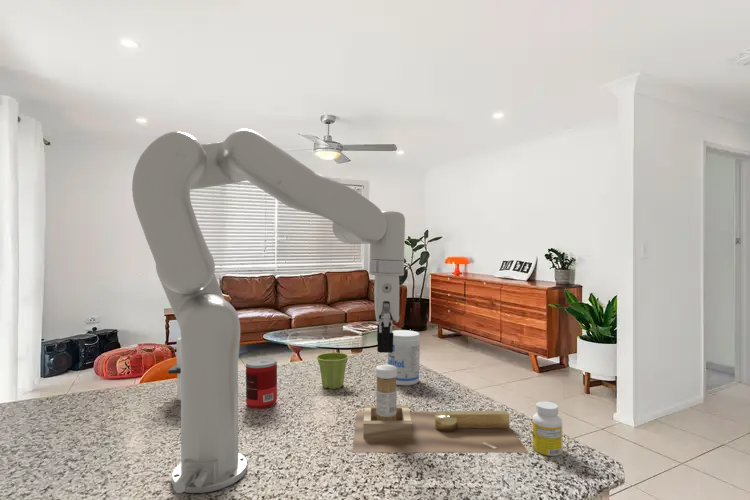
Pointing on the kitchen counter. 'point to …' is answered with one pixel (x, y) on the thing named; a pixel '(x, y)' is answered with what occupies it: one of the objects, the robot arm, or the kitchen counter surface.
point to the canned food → (261, 383)
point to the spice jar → (386, 393)
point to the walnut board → (438, 438)
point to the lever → (471, 419)
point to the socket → (387, 424)
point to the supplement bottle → (547, 430)
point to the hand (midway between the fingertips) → (384, 346)
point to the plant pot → (332, 369)
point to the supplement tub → (405, 356)
